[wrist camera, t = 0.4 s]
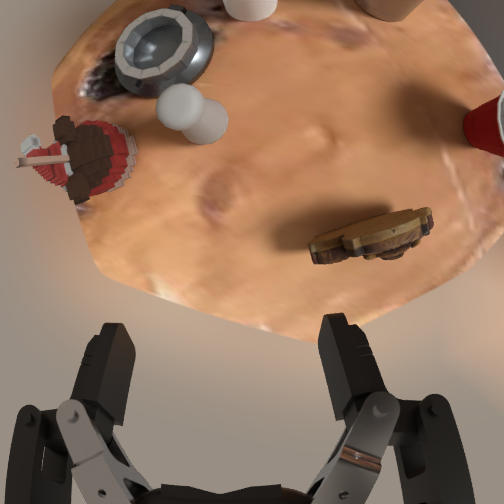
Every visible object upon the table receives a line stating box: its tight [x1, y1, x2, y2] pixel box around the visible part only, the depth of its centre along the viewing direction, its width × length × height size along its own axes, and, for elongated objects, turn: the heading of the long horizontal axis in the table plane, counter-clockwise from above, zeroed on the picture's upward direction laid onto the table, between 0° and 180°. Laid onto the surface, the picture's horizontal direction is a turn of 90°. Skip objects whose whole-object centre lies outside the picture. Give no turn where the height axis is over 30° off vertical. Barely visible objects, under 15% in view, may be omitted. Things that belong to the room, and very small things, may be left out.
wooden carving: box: [308, 207, 434, 264], centre depth 31 cm, size 16×5×10 cm, turn 113°
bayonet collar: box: [115, 4, 214, 98], centre depth 28 cm, size 14×14×4 cm
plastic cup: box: [463, 90, 504, 157], centre depth 24 cm, size 11×11×12 cm
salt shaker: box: [155, 83, 229, 145], centre depth 27 cm, size 6×6×13 cm
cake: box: [15, 116, 138, 205], centre depth 26 cm, size 11×9×18 cm
